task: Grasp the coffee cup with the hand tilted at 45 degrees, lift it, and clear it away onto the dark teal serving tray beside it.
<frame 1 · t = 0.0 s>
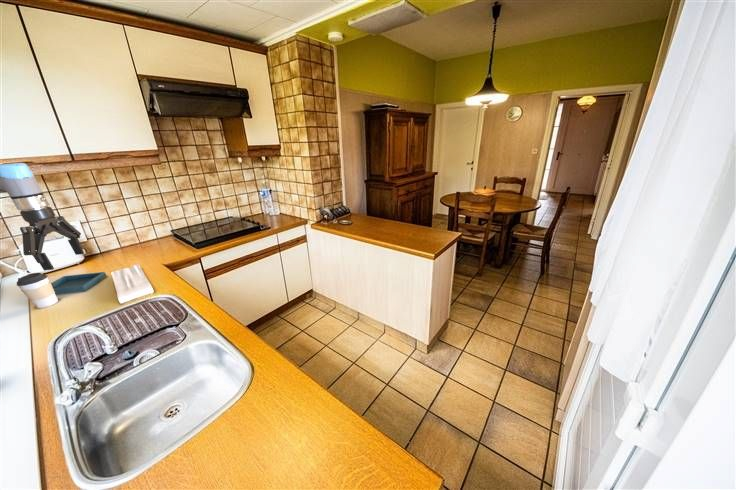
hand: (65, 261, 103), 25 cm above the worktop, tool pointing down, fingers open, 13 cm apart
coffee cup: (47, 304, 122), on the worktop
hand towel: (132, 285, 135), on the worktop
tray: (75, 286, 136), on the worktop
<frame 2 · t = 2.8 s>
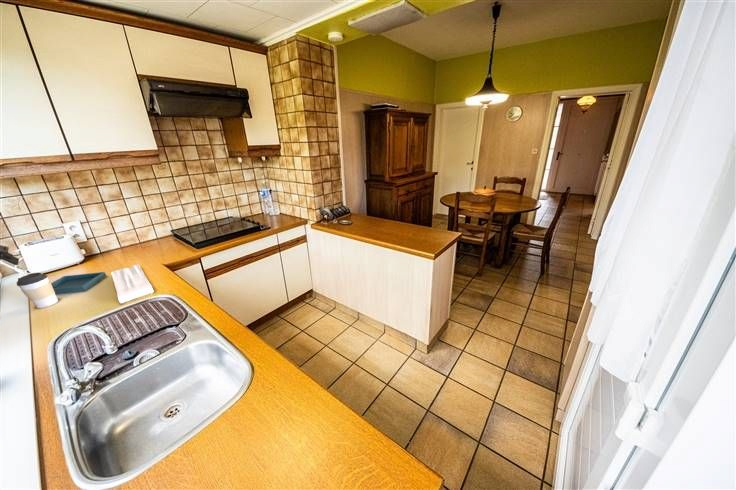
nothing on the worktop moved.
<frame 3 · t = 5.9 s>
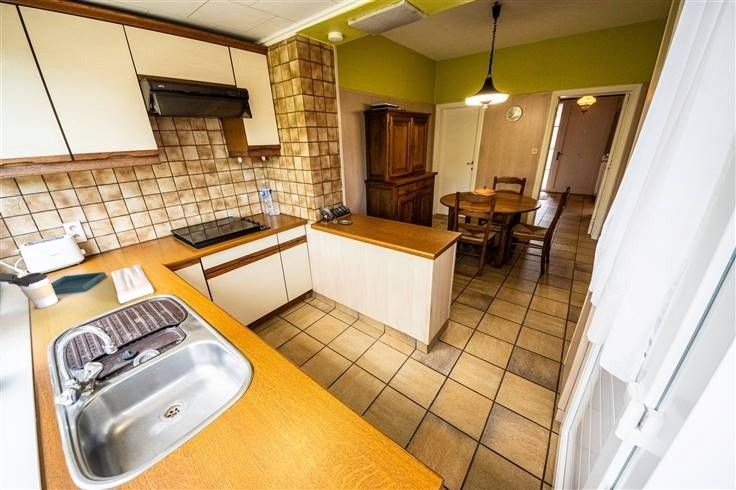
hand: (10, 285, 109), 15 cm above the worktop, tool tilted 45°, fingers open, 13 cm apart
nothing on the worktop moved.
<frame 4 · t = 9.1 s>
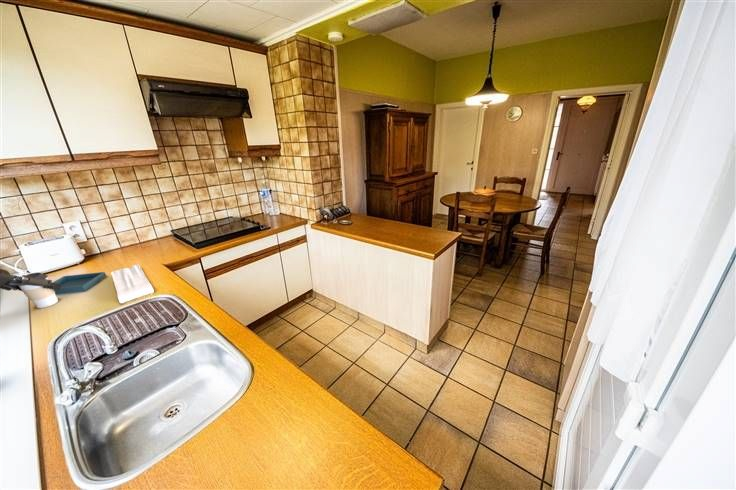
hand: (48, 288, 123), 6 cm above the worktop, tool tilted 45°, fingers closed on coffee cup, 9 cm apart
coffee cup: (47, 303, 122), on the worktop, touching gripper
everything else where it was.
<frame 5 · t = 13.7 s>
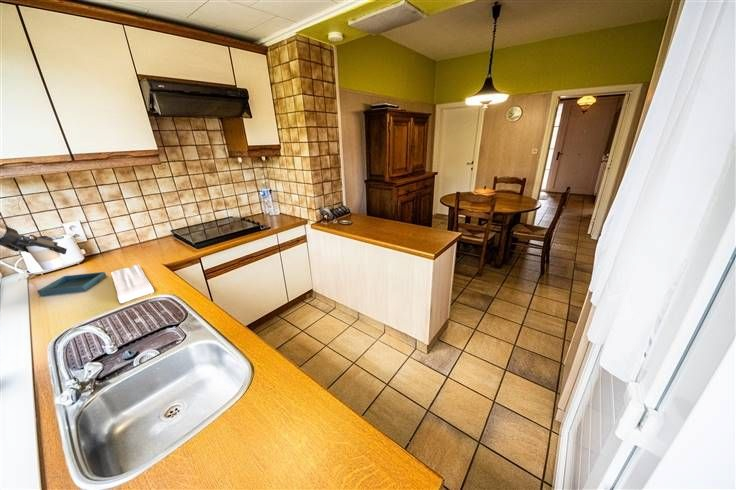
hand: (53, 252, 127), 20 cm above the worktop, tool tilted 45°, fingers closed on coffee cup, 9 cm apart
coffee cup: (53, 267, 127), point 14 cm above the worktop, touching gripper
everything else where it was.
when the fingers open (6 cm above the worktop, at t = 18.3 s): coffee cup stays where it is, resting on tray.
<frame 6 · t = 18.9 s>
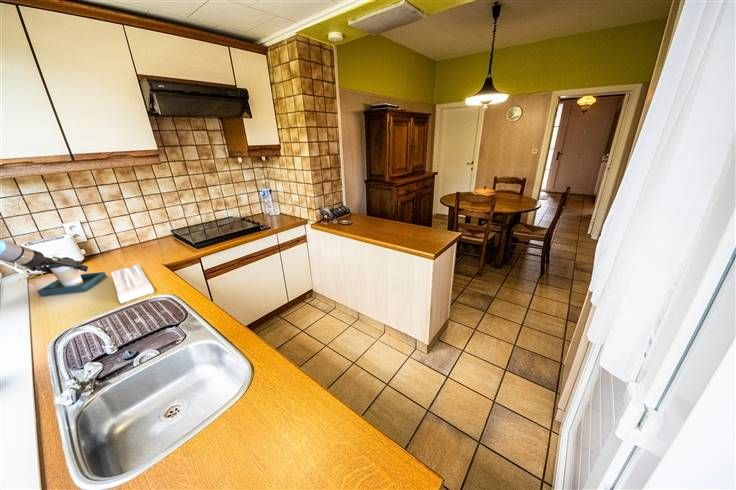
hand: (72, 270, 135), 8 cm above the worktop, tool tilted 45°, fingers open, 13 cm apart
coffee cup: (74, 285, 136), resting on tray
everything else where it was.
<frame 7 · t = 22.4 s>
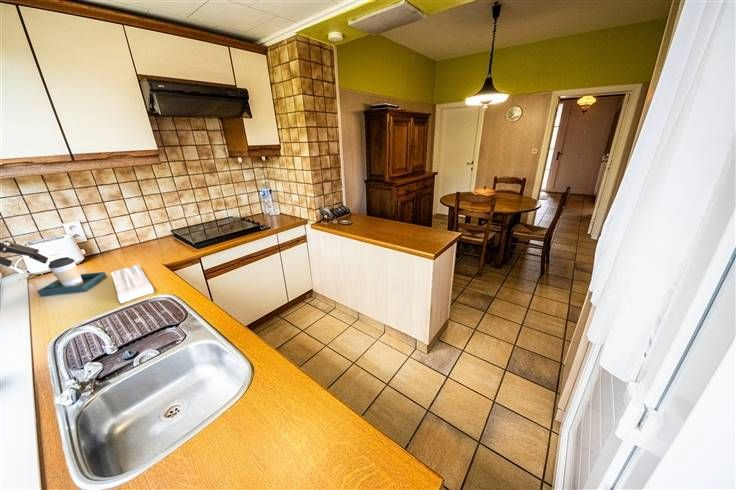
hand: (28, 262, 118), 20 cm above the worktop, tool tilted 40°, fingers open, 13 cm apart
nothing on the worktop moved.
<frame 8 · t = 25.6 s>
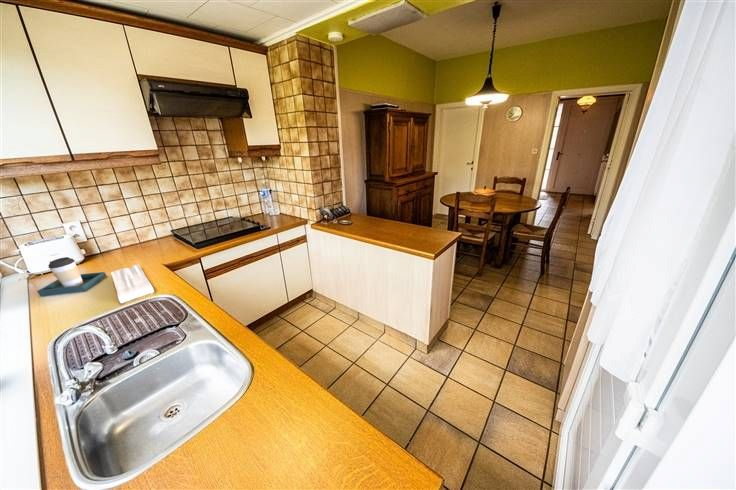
nothing on the worktop moved.
at the end: coffee cup inside the target area in the tray (0.4 cm from its centre), point 0.4 cm above the tray's base; coffee cup tilted 0°; the gripper is holding nothing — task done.
